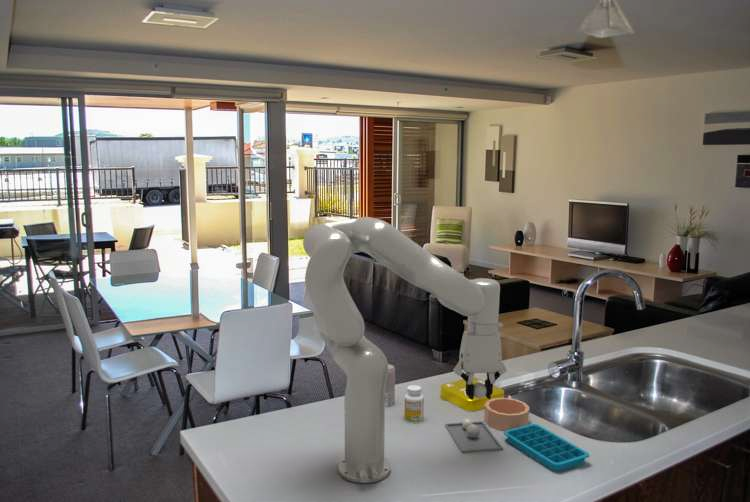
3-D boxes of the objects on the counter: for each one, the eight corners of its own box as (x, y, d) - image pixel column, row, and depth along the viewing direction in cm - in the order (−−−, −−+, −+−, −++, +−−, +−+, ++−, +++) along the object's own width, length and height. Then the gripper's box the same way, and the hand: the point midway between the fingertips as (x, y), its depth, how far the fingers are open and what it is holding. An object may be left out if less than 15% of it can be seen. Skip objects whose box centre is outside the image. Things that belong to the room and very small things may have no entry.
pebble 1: (474, 431, 168) (474, 420, 168) (463, 431, 168) (463, 421, 168) (470, 426, 171) (471, 416, 171) (460, 427, 171) (460, 417, 170)
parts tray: (503, 451, 158) (503, 447, 158) (461, 454, 156) (461, 450, 156) (482, 424, 174) (482, 421, 173) (444, 427, 172) (444, 423, 172)
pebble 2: (481, 440, 163) (481, 427, 163) (468, 440, 163) (468, 428, 162) (477, 433, 167) (477, 421, 166) (464, 434, 166) (464, 422, 166)
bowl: (535, 430, 170) (535, 413, 169) (493, 433, 168) (494, 416, 167) (518, 412, 181) (519, 396, 181) (479, 415, 180) (479, 399, 179)
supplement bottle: (411, 414, 180) (412, 382, 179) (426, 419, 177) (427, 387, 175) (400, 420, 176) (401, 387, 175) (416, 425, 173) (416, 392, 171)
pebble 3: (488, 400, 156) (489, 385, 155) (473, 401, 155) (474, 386, 155) (483, 394, 160) (484, 379, 159) (468, 395, 159) (469, 380, 159)
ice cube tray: (534, 433, 169) (535, 422, 169) (591, 466, 151) (591, 454, 151) (501, 442, 164) (501, 431, 163) (555, 477, 146) (556, 465, 146)
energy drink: (385, 399, 191) (386, 362, 189) (398, 404, 187) (398, 366, 185) (373, 404, 187) (373, 366, 185) (386, 409, 184) (386, 370, 182)
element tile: (506, 404, 189) (507, 389, 188) (469, 415, 181) (470, 399, 180) (473, 388, 201) (473, 374, 201) (437, 398, 193) (437, 383, 192)
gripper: (508, 323, 160) (504, 390, 163) (446, 324, 157) (443, 392, 160) (519, 331, 153) (515, 401, 155) (454, 332, 150) (451, 404, 153)
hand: (478, 396), depth 158 cm, fingers closed on pebble 3, 3 cm apart
